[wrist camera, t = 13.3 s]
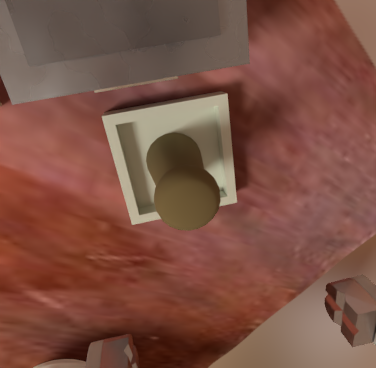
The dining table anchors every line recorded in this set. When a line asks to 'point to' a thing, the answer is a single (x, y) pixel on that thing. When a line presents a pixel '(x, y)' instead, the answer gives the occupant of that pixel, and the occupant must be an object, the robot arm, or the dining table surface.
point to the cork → (182, 182)
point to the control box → (114, 43)
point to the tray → (163, 124)
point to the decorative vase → (63, 364)
